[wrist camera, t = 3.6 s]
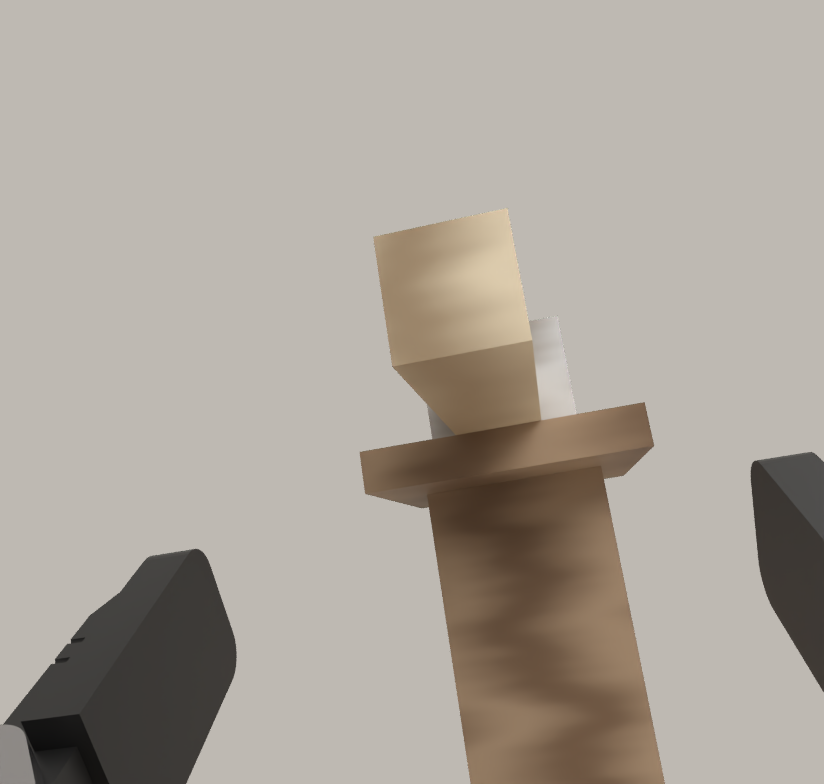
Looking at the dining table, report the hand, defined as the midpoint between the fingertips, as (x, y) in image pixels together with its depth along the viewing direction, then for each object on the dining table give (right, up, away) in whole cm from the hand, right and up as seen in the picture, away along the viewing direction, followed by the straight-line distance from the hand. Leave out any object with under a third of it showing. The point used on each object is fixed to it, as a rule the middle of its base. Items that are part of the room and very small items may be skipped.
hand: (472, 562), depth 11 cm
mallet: (+2, +1, +16) cm, 16 cm away
